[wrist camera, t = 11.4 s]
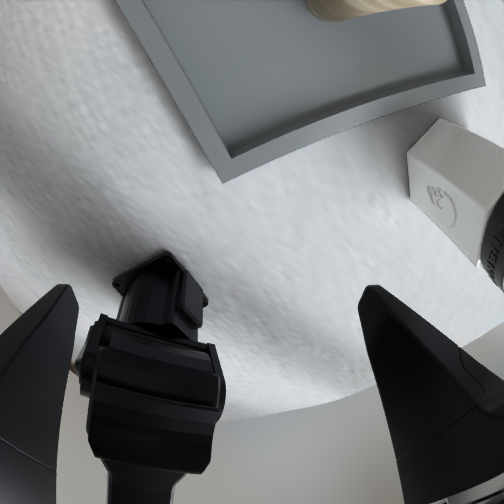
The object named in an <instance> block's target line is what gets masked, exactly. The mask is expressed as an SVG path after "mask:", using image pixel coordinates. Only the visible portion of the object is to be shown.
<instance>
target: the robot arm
mask: <svg viewBox="0 0 504 504" xmlns="http://www.w3.org/2000/svg"><path fill="white" fill-rule="evenodd" d="M165 258H169V260H166V259H165ZM117 283H119V284H117ZM112 285H113V287H114V288H115V289H116V290H117V291H118V292H119V293H120V294H121V295H122V296H123V297H122V300H121V304H120V307H119V311H118V314H117V318H116V319H113V318H110V317H108V315H105V314H102V313H101V315H100V317H99V320H98V321H95V324H94V325H93V326H90V329H89V332H88V335H87V339H86V341H85V344H84V346H83V348H82V350H81V351H80V353H79V355H78V357H77V359H76V361H75V365H74V369H75V371H76V373H77V375H78V376H79V384H80V395H82V396H85V397H88V398H90V400H89V407H88V415H87V424H86V430H87V434H88V441H89V444H90V447H91V449H92V451H93V454H94V456H95V457H97V458H100V459H101V461H102V462H103V464H104V466H105V468H106V469H107V471H108V480H107V501H106V504H173V496H174V489H175V485H176V484H177V483H178V482H179V481H180V480H181V479H182V478H183V477H184V476H185V475H186V474H187V473H189V474H202V473H203V472H204V470H205V469H206V467H207V466H208V464H209V463H210V460H211V449H212V439H213V433H214V428H215V424H216V422H217V421H218V420H219V419H220V417H221V415H222V412H223V409H224V405H225V398H226V384H225V379H224V376H223V372H222V369H221V365H220V362H219V358H218V355H217V351H216V347H215V344H211V343H207V344H205V343H201V342H198V328H200V327H202V324H203V308H204V307H206V306H207V305H208V298H207V297H206V296H205V294H204V293H203V289H202V288H201V287H200V285H199V284H198V283H197V282H196V281H195V279H194V278H193V277H192V276H191V274H190V273H189V272H188V271H187V270H184V268H183V267H182V266H181V265H180V263H179V262H178V261H177V260H176V258H175V257H174V256H173V255H172V254H171V253H169V252H165V253H163V254H161V255H159V256H157V257H155V258H153V259H151V260H149V261H147V262H145V263H143V264H141V265H139V266H137V267H135V268H133V269H131V270H129V271H127V272H125V273H123V274H121V275H120V276H118V277H116V278H114V279H113V282H112ZM203 301H204V302H203ZM78 313H79V306H78V302H77V300H76V297H75V295H74V292H73V290H72V287H71V286H70V285H68V284H58V285H56V286H55V287H54V288H52V289H51V290H50V291H49V292H48V293H46V294H45V295H44V296H43V297H42V298H41V299H39V300H38V301H37V302H36V303H35V304H34V305H32V306H31V307H30V308H29V309H28V310H27V311H26V312H25V313H23V314H22V315H21V316H20V317H19V318H18V319H17V320H16V321H15V322H14V323H12V325H10V326H9V327H8V328H7V329H6V330H5V331H4V332H3V333H2V334H1V335H0V504H56V469H57V468H56V467H57V452H58V440H59V430H60V422H61V414H62V407H63V401H64V394H65V389H66V383H67V378H68V373H69V368H70V363H71V358H72V353H73V346H74V339H75V331H76V325H77V319H78ZM358 313H359V317H360V322H361V326H362V331H363V336H364V340H365V345H366V349H367V353H368V357H369V360H370V363H371V366H372V370H373V373H374V376H375V380H376V383H377V387H378V390H379V394H380V397H381V401H382V404H383V408H384V412H385V415H386V419H387V423H388V427H389V431H390V435H391V439H392V444H393V448H394V452H395V457H396V462H397V467H398V472H399V476H400V481H401V487H402V492H403V497H404V502H405V504H430V503H433V502H436V501H439V500H442V499H445V500H444V501H442V502H440V503H439V504H504V380H502V379H501V378H499V377H498V376H497V375H495V374H494V373H493V372H491V371H490V370H488V369H487V368H486V367H484V366H483V365H482V364H480V363H479V362H477V361H476V360H475V359H474V358H473V357H471V356H470V355H469V354H468V353H466V352H465V351H464V350H463V349H462V348H460V347H458V345H457V344H455V343H454V342H453V341H452V340H450V339H449V338H448V337H447V336H445V335H444V334H443V333H442V332H440V331H439V330H438V329H437V328H435V327H434V326H433V325H431V324H430V323H429V322H428V321H426V320H425V319H424V318H422V317H421V316H420V315H419V314H417V313H416V312H415V311H413V310H412V309H411V308H409V307H408V306H407V305H405V304H404V303H403V302H402V301H400V300H399V299H398V298H396V297H395V296H394V295H392V294H391V293H389V292H388V291H387V290H385V289H384V288H383V287H381V286H380V285H368V286H367V287H366V288H365V290H364V292H363V294H362V297H361V299H360V301H359V304H358Z"/></svg>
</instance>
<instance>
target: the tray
mask: <svg viewBox="0 0 504 504" xmlns="http://www.w3.org/2000/svg"><path fill="white" fill-rule="evenodd" d="M116 2H117V4H118V5H119V7H120V9H121V10H122V12H123V14H124V15H125V17H126V19H127V21H128V22H129V24H130V26H131V27H132V29H133V31H134V32H135V34H136V36H137V37H138V39H139V41H140V42H141V44H142V46H143V48H144V49H145V51H146V53H147V54H148V56H149V58H150V59H151V61H152V63H153V65H154V66H155V68H156V70H157V71H158V73H159V75H160V77H161V78H162V80H163V82H164V83H165V85H166V87H167V89H168V90H169V92H170V94H171V95H172V97H173V99H174V101H175V102H176V104H177V106H178V107H179V109H180V111H181V113H182V114H183V116H184V118H185V119H186V121H187V123H188V125H189V126H190V128H191V130H192V132H193V133H194V135H195V137H196V139H197V140H198V142H199V144H200V145H201V147H202V149H203V151H204V152H205V154H206V156H207V158H208V159H209V161H210V163H211V165H212V166H213V168H214V170H215V172H216V173H217V175H218V177H219V179H220V180H221V182H222V184H223V183H225V182H227V181H229V180H231V179H234V178H236V177H238V176H240V175H242V174H244V173H246V172H248V171H250V170H253V169H255V168H257V167H259V166H261V165H263V164H266V163H268V162H270V161H272V160H275V159H277V158H279V157H281V156H284V155H286V154H288V153H291V152H293V151H295V150H298V149H300V148H302V147H305V146H307V145H309V144H312V143H314V142H317V141H319V140H322V139H324V138H327V137H329V136H332V135H334V134H337V133H339V132H342V131H344V130H347V129H350V128H352V127H355V126H358V125H360V124H363V123H366V122H369V121H371V120H374V119H377V118H380V117H383V116H385V115H388V114H391V113H394V112H397V111H400V110H403V109H406V108H409V107H412V106H415V105H419V104H422V103H425V102H428V101H432V100H435V99H438V98H442V97H445V96H449V95H452V94H456V93H460V92H463V91H467V90H471V89H475V88H479V87H483V86H486V84H485V78H484V73H483V68H482V63H481V59H480V54H479V50H478V46H477V42H476V39H475V35H474V32H473V28H472V25H471V22H470V19H469V15H468V13H467V10H466V7H465V4H464V1H463V0H447V1H446V2H444V3H442V4H438V5H426V6H417V7H409V8H402V9H395V10H389V11H384V12H378V13H373V14H369V15H364V16H360V17H355V18H351V19H347V20H343V21H340V22H326V21H323V20H321V19H319V18H317V17H316V16H315V15H313V14H312V13H311V11H310V10H309V8H308V7H307V4H306V0H116Z"/></svg>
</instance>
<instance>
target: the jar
mask: <svg viewBox="0 0 504 504" xmlns="http://www.w3.org/2000/svg"><path fill="white" fill-rule="evenodd" d="M407 163H408V174H409V189H410V201H411V202H412V203H413V204H414V205H415V206H416V207H418V208H419V209H420V210H421V211H422V212H423V213H424V214H425V215H426V216H427V217H428V218H429V219H430V220H431V221H432V222H433V223H434V224H435V225H436V226H437V227H438V228H439V229H440V230H441V231H442V232H443V233H444V234H445V235H446V236H447V237H448V238H449V239H450V240H451V241H452V242H453V243H454V244H455V245H456V246H457V247H458V248H459V249H460V251H461V252H462V253H463V254H464V255H465V256H466V257H467V258H468V259H469V260H470V262H471V263H472V264H473V265H474V266H475V267H477V268H484V269H485V271H486V272H487V273H488V274H489V277H490V278H491V279H492V281H493V282H494V283H495V284H496V285H497V286H498V287H500V289H501V290H502V291H503V292H504V148H502V147H500V146H499V145H497V144H495V143H493V142H491V141H489V140H487V139H485V138H483V137H481V136H479V135H477V134H475V133H473V132H471V131H469V130H467V129H465V128H463V127H460V126H458V125H456V124H454V123H451V122H449V121H447V120H444V119H442V118H439V119H438V120H437V121H436V122H435V123H434V124H433V125H432V126H431V127H430V129H429V130H428V131H427V132H426V133H425V134H424V135H423V136H422V137H421V138H420V139H419V140H418V141H417V142H416V143H415V144H414V145H413V146H412V147H411V149H410V150H409V151H408V152H407Z"/></svg>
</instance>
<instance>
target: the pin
mask: <svg viewBox="0 0 504 504" xmlns="http://www.w3.org/2000/svg"><path fill="white" fill-rule="evenodd" d="M446 1H447V0H306V4H307V7H308V8H309V10H310V11H311V13H312V14H313V15H315V16H316V17H317V18H319V19H321V20H323V21H326V22H340V21H343V20H347V19H351V18H355V17H360V16H364V15H369V14H373V13H378V12H384V11H389V10H395V9H402V8H409V7H417V6H426V5H438V4H442V3H444V2H446Z"/></svg>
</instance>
